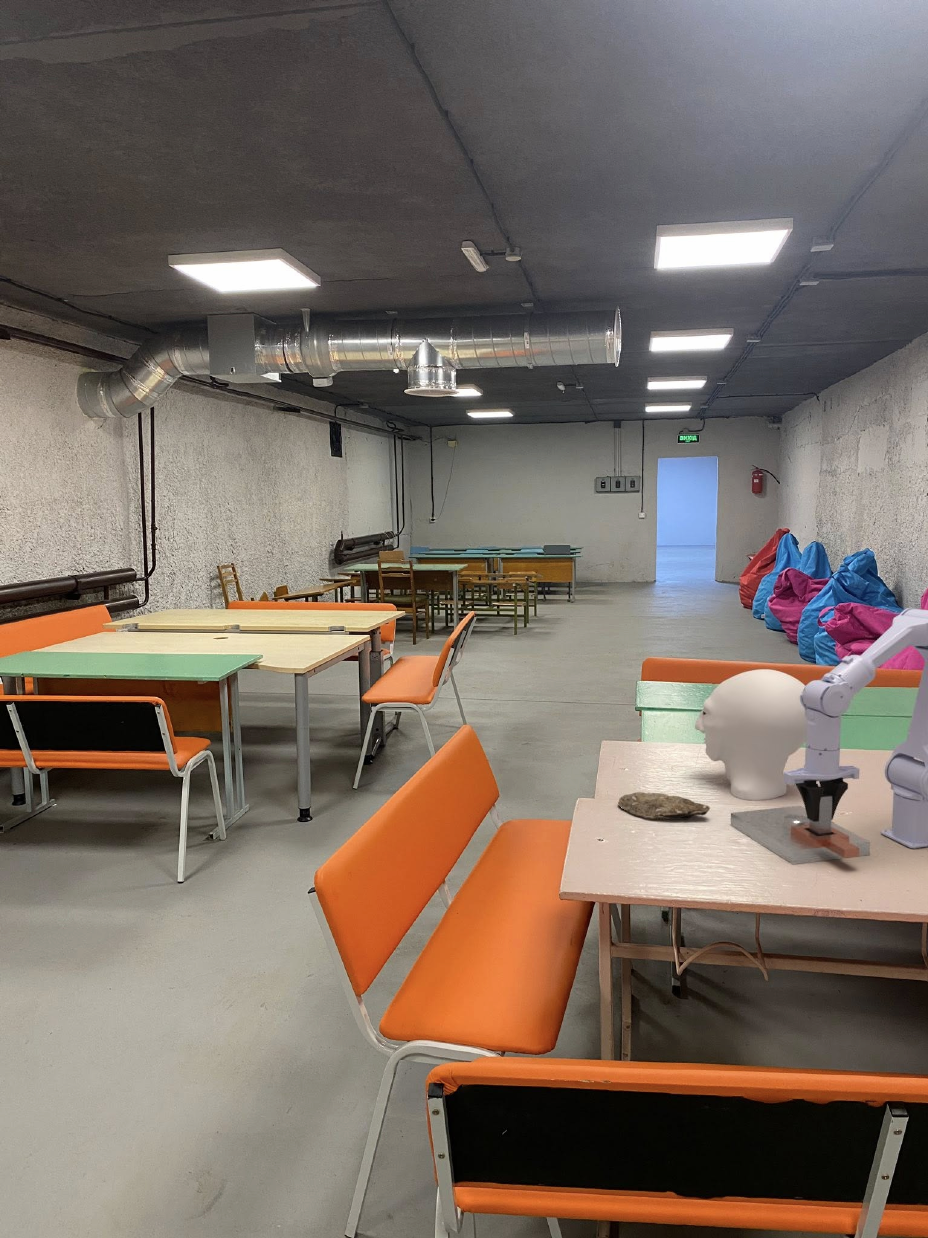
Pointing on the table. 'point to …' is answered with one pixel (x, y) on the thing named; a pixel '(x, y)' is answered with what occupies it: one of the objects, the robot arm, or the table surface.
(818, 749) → the robot arm
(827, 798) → the grey rectangular block
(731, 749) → the head sculpture
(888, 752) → the table surface
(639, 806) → the rock
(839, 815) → the table surface
